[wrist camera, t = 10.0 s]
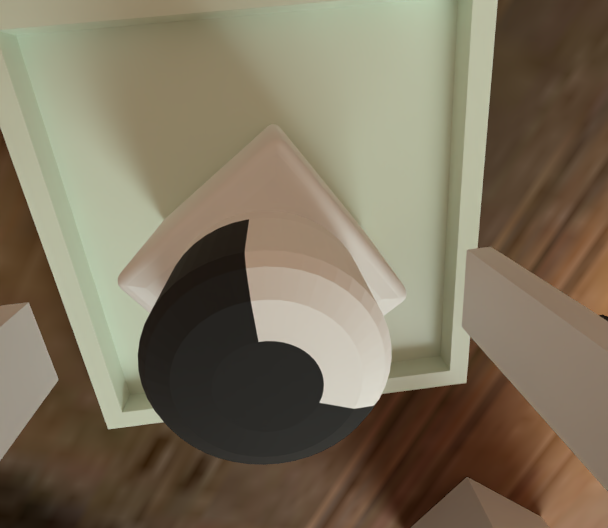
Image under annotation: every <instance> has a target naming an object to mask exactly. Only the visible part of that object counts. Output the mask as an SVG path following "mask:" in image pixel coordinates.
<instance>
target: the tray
mask: <svg viewBox="0 0 608 528" xmlns="http://www.w3.org/2000/svg"><path fill="white" fill-rule="evenodd" d="M497 2H498V0H0V128H1V131H2V134H3V136H4V139H5V142H6V145H7V148H8V150H9V153H10V156H11V159H12V161H13V164H14V167H15V170H16V173H17V175H18V178H19V181H20V184H21V187H22V189H23V192H24V195H25V198H26V201H27V203H28V206H29V209H30V212H31V215H32V217H33V220H34V223H35V226H36V229H37V231H38V234H39V237H40V240H41V243H42V245H43V248H44V251H45V254H46V257H47V259H48V262H49V265H50V268H51V271H52V273H53V276H54V279H55V282H56V284H57V287H58V290H59V293H60V296H61V298H62V301H63V304H64V307H65V310H66V312H67V315H68V318H69V321H70V324H71V326H72V329H73V332H74V335H75V338H76V340H77V343H78V346H79V349H80V352H81V354H82V357H83V360H84V363H85V366H86V368H87V371H88V374H89V377H90V380H91V382H92V385H93V388H94V391H95V394H96V396H97V399H98V402H99V405H100V407H101V410H102V413H103V416H104V419H105V421H106V424H107V427H108V429H114V428H121V427H129V426H137V425H145V424H152V423H160V422H163V420H162V419H161V418H160V417H159V416H158V414H157V413H156V412H155V411H154V409H153V407H152V406H151V404H150V402H149V401H148V399H147V397H146V394H145V392H144V389H143V387H142V384H141V380H140V375H139V371H138V349H139V341H140V337H141V334H142V330H143V327H144V324H145V322H146V320H147V318H148V316H149V314H150V313H149V312H148V311H147V310H145V309H144V308H143V307H142V306H141V305H140V304H138V303H137V302H136V301H135V300H134V299H132V298H131V297H130V296H129V295H128V294H127V293H125V292H124V291H123V290H122V289H121V288H120V287H119V285H118V276H119V275H120V273H121V272H122V271H123V269H124V268H125V267H126V266H127V264H128V263H129V262H130V261H131V260H132V258H133V257H134V256H135V255H136V254H137V252H138V251H139V250H140V249H141V247H142V246H143V245H144V244H145V243H146V241H147V240H148V239H149V238H150V236H151V235H152V234H153V233H154V232H155V230H156V229H157V228H158V227H159V226H160V224H161V223H162V222H163V221H164V219H165V218H166V217H167V216H169V215H170V214H171V213H172V212H173V211H174V210H175V209H176V208H177V207H179V206H180V205H181V204H182V203H183V202H184V201H185V200H186V199H187V198H189V197H190V196H191V195H192V194H193V193H194V192H195V191H196V190H197V189H199V188H200V187H201V186H202V185H203V184H204V183H205V182H206V181H207V180H209V179H210V178H211V177H212V176H213V175H214V174H215V173H216V172H217V171H219V170H220V169H221V168H222V167H223V166H224V165H225V164H226V163H227V162H229V161H230V160H231V159H232V158H233V157H234V156H235V155H236V154H237V153H239V152H240V151H241V150H242V149H243V148H244V147H245V146H246V145H247V144H249V143H250V142H251V141H252V140H253V139H254V138H255V137H256V136H257V135H259V134H260V133H261V132H262V131H263V130H264V129H265V128H266V127H267V126H269V125H271V124H276V125H278V126H279V127H280V128H281V129H282V130H283V132H284V133H285V134H286V135H287V136H288V138H289V139H290V140H291V141H292V143H293V144H294V145H295V146H296V148H297V149H298V150H299V151H300V152H301V154H302V155H303V156H304V157H305V159H306V160H307V161H308V162H309V164H310V165H311V166H312V167H313V168H314V170H315V171H316V172H317V173H318V175H319V176H320V177H321V178H322V179H323V181H324V182H325V183H326V184H327V186H328V187H329V188H330V189H331V191H332V192H333V193H334V194H335V195H336V197H337V198H338V199H339V200H340V202H341V203H342V204H343V205H344V207H345V208H346V209H347V210H348V211H349V213H350V214H351V215H352V216H353V218H354V219H355V220H356V221H357V223H358V224H359V225H360V226H361V227H362V229H363V230H364V231H365V233H366V234H367V235H368V237H369V238H370V240H371V241H372V242H373V244H374V245H375V246H376V248H377V249H378V251H379V252H380V253H381V255H382V256H383V258H384V259H385V260H386V262H387V263H388V265H389V266H390V267H391V269H392V270H393V272H394V273H395V274H396V276H397V277H398V279H399V280H400V281H401V283H402V284H403V285H404V287H405V289H406V293H407V294H406V299H405V300H404V301H403V302H402V303H400V304H399V305H398V306H396V307H395V308H394V309H392V310H391V311H390V312H388V313H387V314H385V315H384V318H385V321H386V324H387V327H388V329H389V334H390V340H391V352H392V360H391V366H390V373H389V376H388V379H387V383H386V386H385V388H384V390H383V392H382V394H385V393H393V392H400V391H408V390H416V389H424V388H431V387H439V386H447V385H455V384H462V383H466V381H467V369H468V357H469V345H470V336H469V334H468V333H467V332H466V331H465V330H464V329H463V328H462V314H463V299H464V284H465V269H466V254H467V250H468V249H476V248H477V247H478V235H479V222H480V210H481V198H482V186H483V174H484V161H485V149H486V137H487V125H488V112H489V100H490V88H491V76H492V63H493V51H494V39H495V27H496V15H497Z"/></svg>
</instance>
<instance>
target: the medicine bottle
mask: <svg viewBox="0 0 608 528" xmlns="http://www.w3.org/2000/svg"><path fill="white" fill-rule="evenodd" d="M118 285H119V287H120V288H121V289H122V290H123V291H124V292H125V293H127V294H128V295H129V296H130V297H131V298H132V299H134V300H135V301H136V302H137V303H138V304H140V305H141V306H142V307H143V308H144V309H145V310H147V311H148V312H149V313H150V314H149V316H148V318H147V320H146V322H145V324H144V327H143V330H142V334H141V337H140V341H139V349H138V371H139V375H140V380H141V384H142V387H143V389H144V392H145V394H146V397H147V399H148V401H149V402H150V404H151V406H152V407H153V409H154V411H155V412H156V413H157V414H158V416H159V417H160V418H161V419H162V420H163V422H164V423H165V424H166V425H167V426H168V427H169V428H170V429H171V430H172V431H173V432H175V433H176V434H177V435H178V436H179V437H180V438H181V439H183V440H184V441H186V442H187V443H189V444H190V445H192V446H193V447H195V448H197V449H199V450H201V451H203V452H205V453H207V454H210V455H213V456H215V457H218V458H221V459H225V460H229V461H233V462H239V463H246V464H279V463H285V462H290V461H295V460H299V459H302V458H306V457H309V456H312V455H314V454H317V453H319V452H322V451H324V450H325V449H327V448H329V447H331V446H333V445H335V444H336V443H338V442H339V441H341V440H342V439H344V438H345V437H346V436H348V435H349V434H350V433H351V432H352V431H353V430H354V429H356V428H357V427H358V426H359V424H360V423H361V422H362V421H363V420H364V419H365V418H366V417H367V415H368V414H369V413H370V412H371V411H372V409H373V408H374V406H375V405H376V403H377V402H378V400H379V398H380V396H381V394H382V392H383V390H384V388H385V386H386V383H387V379H388V376H389V373H390V366H391V360H392V352H391V340H390V334H389V329H388V327H387V324H386V321H385V318H384V315H385V314H387V313H388V312H390V311H391V310H392V309H394V308H395V307H396V306H398V305H399V304H400V303H402V302H403V301H404V300H405V299H406V294H407V293H406V289H405V287H404V285H403V284H402V283H401V281H400V280H399V279H398V277H397V276H396V274H395V273H394V272H393V270H392V269H391V267H390V266H389V265H388V263H387V262H386V260H385V259H384V258H383V256H382V255H381V253H380V252H379V251H378V249H377V248H376V246H375V245H374V244H373V242H372V241H371V240H370V238H369V237H368V235H367V234H366V233H365V231H364V230H363V229H362V227H361V226H360V225H359V224H358V223H357V221H356V220H355V219H354V218H353V216H352V215H351V214H350V213H349V211H348V210H347V209H346V208H345V207H344V205H343V204H342V203H341V202H340V200H339V199H338V198H337V197H336V195H335V194H334V193H333V192H332V191H331V189H330V188H329V187H328V186H327V184H326V183H325V182H324V181H323V179H322V178H321V177H320V176H319V175H318V173H317V172H316V171H315V170H314V168H313V167H312V166H311V165H310V164H309V162H308V161H307V160H306V159H305V157H304V156H303V155H302V154H301V152H300V151H299V150H298V149H297V148H296V146H295V145H294V144H293V143H292V141H291V140H290V139H289V138H288V136H287V135H286V134H285V133H284V132H283V130H282V129H281V128H280V127H279V126H278V125H276V124H271V125H269V126H267V127H266V128H265V129H264V130H263V131H262V132H261V133H260V134H259V135H257V136H256V137H255V138H254V139H253V140H252V141H251V142H250V143H249V144H247V145H246V146H245V147H244V148H243V149H242V150H241V151H240V152H239V153H237V154H236V155H235V156H234V157H233V158H232V159H231V160H230V161H229V162H227V163H226V164H225V165H224V166H223V167H222V168H221V169H220V170H219V171H217V172H216V173H215V174H214V175H213V176H212V177H211V178H210V179H209V180H207V181H206V182H205V183H204V184H203V185H202V186H201V187H200V188H199V189H197V190H196V191H195V192H194V193H193V194H192V195H191V196H190V197H189V198H187V199H186V200H185V201H184V202H183V203H182V204H181V205H180V206H179V207H177V208H176V209H175V210H174V211H173V212H172V213H171V214H170V215H169V216H167V217H166V218H165V219H164V221H163V222H162V223H161V224H160V226H159V227H158V228H157V229H156V230H155V232H154V233H153V234H152V235H151V236H150V238H149V239H148V240H147V241H146V243H145V244H144V245H143V246H142V247H141V249H140V250H139V251H138V252H137V254H136V255H135V256H134V257H133V258H132V260H131V261H130V262H129V263H128V264H127V266H126V267H125V268H124V269H123V271H122V272H121V273H120V275H119V276H118Z"/></svg>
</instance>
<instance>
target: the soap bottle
mask: <svg viewBox="0 0 608 528" xmlns="http://www.w3.org/2000/svg"><path fill="white" fill-rule="evenodd" d="M411 528H550V527H549V526H548V525H547V523H546V522H545V521H544V520H543V518H542V517H541V516H539V515H537V514H535V513H533V512H531V511H530V510H528V509H526V508H524V507H522V506H520V505H518V504H517V503H515V502H513V501H511V500H509V499H507V498H506V497H504V496H502V495H500V494H498V493H496V492H494V491H493V490H491V489H489V488H487V487H485V486H483V485H481V484H480V483H478V482H476V481H474V480H472V479H470V478H468V477H466V478H465V479H464V480H463V481H462V482H461V483H459V484H458V485H457V486H456V487H455V488H454V489H453V490H452V491H451V492H449V493H448V494H447V495H446V496H445V497H444V498H443V499H442V500H441V501H440V502H438V503H437V504H436V505H435V506H434V507H433V508H432V509H431V510H430V511H428V512H427V513H426V514H425V515H424V516H423V517H422V518H421V519H420V520H418V521H417V522H416V523H415V524H414V525H413V526H412V527H411Z"/></svg>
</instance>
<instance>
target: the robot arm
mask: <svg viewBox="0 0 608 528" xmlns="http://www.w3.org/2000/svg"><path fill="white" fill-rule="evenodd" d="M462 328H463V329H464V330H465V331H466V332H467V333H468V334H469V336H470V337H471V338H472V339H473V340H474V341H475V342H476V344H477V345H478V346H479V347H480V348H481V349H482V350H483V351H484V353H485V354H486V355H487V356H488V357H489V358H490V359H491V360H492V362H493V363H494V364H495V365H496V366H497V367H498V368H499V369H500V371H501V372H502V373H503V374H504V375H505V376H506V377H507V378H508V380H509V381H510V382H511V383H512V384H513V385H514V386H515V387H516V389H517V390H518V391H519V392H520V393H521V394H522V395H523V397H524V398H525V399H526V400H527V401H528V402H529V403H530V404H531V406H532V407H533V408H534V409H535V410H536V411H537V412H538V413H539V415H540V416H541V417H542V418H543V419H544V420H545V421H546V422H547V424H548V425H549V426H550V427H551V428H552V429H553V430H554V431H555V433H556V434H557V435H558V436H559V437H560V438H561V439H562V440H563V442H564V443H565V444H566V445H567V446H568V447H569V448H570V449H571V451H572V452H573V453H574V454H575V455H576V456H577V457H578V459H579V460H580V461H581V462H582V463H583V464H584V465H585V466H586V468H587V469H588V470H589V471H590V472H591V473H592V474H593V475H594V477H595V478H596V479H597V480H598V481H599V482H600V483H601V484H602V486H603V487H604V488H605V489H606V490H607V491H608V317H607V316H604V315H597V314H596V313H594V312H592V311H591V310H589V309H588V308H586V307H585V306H583V305H581V304H580V303H578V302H577V301H575V300H574V299H572V298H570V297H569V296H567V295H566V294H564V293H563V292H561V291H559V290H558V289H556V288H555V287H553V286H552V285H550V284H548V283H547V282H545V281H544V280H542V279H541V278H539V277H537V276H536V275H534V274H533V273H531V272H530V271H528V270H527V269H525V268H523V267H522V266H520V265H519V264H517V263H516V262H514V261H512V260H511V259H509V258H508V257H506V256H505V255H503V254H501V253H500V252H498V251H497V250H495V249H494V248H492V247H484V248H476V249H468V250H467V254H466V269H465V284H464V299H463V314H462ZM57 381H58V377H57V374H56V372H55V369H54V367H53V364H52V362H51V359H50V356H49V354H48V351H47V349H46V346H45V343H44V341H43V338H42V336H41V333H40V331H39V328H38V325H37V323H36V320H35V318H34V315H33V312H32V310H31V307H30V305H29V302H28V303H19V304H11V305H3V306H0V460H1V459H2V457H3V456H4V455H5V453H6V452H7V450H8V449H9V448H10V446H11V445H12V444H13V442H14V441H15V439H16V438H17V437H18V435H19V434H20V432H21V431H22V430H23V428H24V427H25V426H26V424H27V423H28V421H29V420H30V419H31V417H32V416H33V414H34V413H35V412H36V410H37V409H38V408H39V406H40V405H41V403H42V402H43V401H44V399H45V398H46V396H47V395H48V394H49V392H50V391H51V390H52V388H53V387H54V385H55V384H56V383H57Z"/></svg>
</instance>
